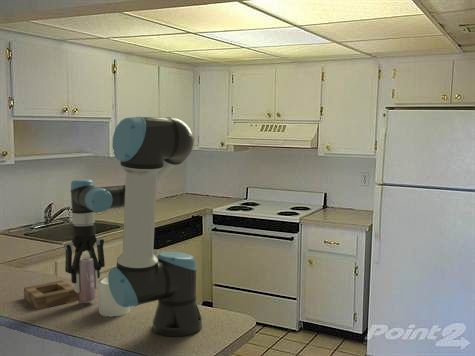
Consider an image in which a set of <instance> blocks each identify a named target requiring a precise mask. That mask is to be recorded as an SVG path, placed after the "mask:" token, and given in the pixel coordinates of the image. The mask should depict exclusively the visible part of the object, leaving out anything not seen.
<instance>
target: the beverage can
mask: <svg viewBox="0 0 475 356" xmlns="http://www.w3.org/2000/svg"><path fill="white" fill-rule="evenodd" d="M94 269H95V268H94V259H93V258H91V257H90V256H81V258H80V262H79V266H78V270H77V273H78V274H79V288H80V293H77V297H78V300H77V301H78V303H80V304H89V303H93V302H94V301H95V300H96V289H95V271H94Z"/></svg>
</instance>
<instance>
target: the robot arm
mask: <svg viewBox="0 0 475 356" xmlns="http://www.w3.org/2000/svg"><path fill="white" fill-rule="evenodd" d="M111 142H112V147H111V148H112V150H113V156H114V157H115V159H116V160H117V161H119V162H120V163H119V165H120V167H121V168H122V169H123V170H124V172H125V180H124V181H125V183H124V184H121V185H110V186H99V187H97V186H95V184H94V181H93V179H91V178H82V179H80V178H79V179H77V178H76V179H73V180H71V183H70V191H69V192H70V198H71V201H70V202H71V221H72V222H71V223H72V227H71V228H72V240H71V241H70V242H68V243H64V245H63V247H64V249H65V262H64V263H65V267H64V268H65V273H67V274H71V276H70V277H71V279H70V280H71V283H72V284H73V287H74V291H75V292H77V293H80V288H79V274H78V273H77V270H78V266H79V262H80V258H81V257H82V255H83V252H84V253H85V252H86V251H87V253H88V255H89V257H91V258H93V259H94V271H95V290H98V281H99V280H98V279H101V276H100V275H101V274H100V273H101V270H102V268H105V265H106V264H105V255H104V254H105V253H104V252H105V251H104V243H105V240H104V239H102V238H97V236H96V224H95V223H96V215H95V213H98V212H100V213H102V212H106V211H108V210H113V209H120V208H121V209H122V208H123V209H124V210H123V234H122V235H123V236H122V253H121V254H120V255H119V256H117V258H116V267H112V268H111V269H109V271H108V274H107V277H108V283H109V288H110V291H111V294H112V296H113V298H114V300H115V301H116V302H117V304H118V305H120V306H121V307H130V308H131V307H138V306H139V305H143V304H147V303H148V304H149V303H151V302H155V301H157V302H158V303H157V306H156V310H155V313H154V316H153V319H152V330H153V332H155V333H156V334H158V335H161V336H163V337H185V336H189V335H193V334H195V333H197V332H199V331H200V330H201V329H202V327H203V318H202V314H201V313H200V309H199V306H198V304H197V264H196V258H195V257H194V256H193V255H192V254H189V253H184V252H178V251H160V252H159V253H157V255H155V254H154V247H155V246H154V245H155V243H154V242H155V226H156V221H155V220H156V201H157V187H158V186H157V185H158V183H160V182H161V180H162V179H163V178H165V176H166V175H168V173H169V172H170V171H172V169H173V168H174V167H175V166H179V165H181V164H183V162H184V161H186V160H187V159H188V158H189V156H190V155H191V153H192V150H193V147H194V136H193V133H192V130H191V128H190V127H189V126H188V124H187V123H186V122H184V121H182V120H181V119H178V118H176V117H170V116H169V117H168V116H167V117H162V116H161V117H153V116H134V117H133V116H132V117H125V118H123V119H122V120H120V122H119V123H118V124H117V125H116V127H115V130H114V133H113V136H112V141H111ZM95 244H96V250H95V249H94V246H95ZM73 247H74V248H75V250H74V256H73V249H74V248H73ZM95 251H97V253H96V252H95ZM96 254H97V255H96Z"/></svg>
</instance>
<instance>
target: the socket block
mask: <svg viewBox="0 0 475 356" xmlns="http://www.w3.org/2000/svg"><path fill="white" fill-rule="evenodd" d="M23 299H24V300H26V302H28V303H29V304H30V305H31V306H33V307H34V308H35V309H36V310H41V309H45V308H46V309H47V308H50V307H55V306H59V305H63V304H67V302H68V303H73V302H77V301H78V296H77V292H75V291H74V286H72V285H71V284H69V283H67V282H66V281H64V280H62V279H61V280H57V281H52V282H47V283H42V284H37V285H31V286H26V287H23Z"/></svg>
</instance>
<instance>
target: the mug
mask: <svg viewBox="0 0 475 356" xmlns="http://www.w3.org/2000/svg"><path fill="white" fill-rule="evenodd" d="M97 290H98V313H99V314H101V315H100V316H102V315H103V317H107V316H109V318H111V317H112V318H114V317H113V316H116V317H122V316H124V315H125V316H126V315H127V314H129V313H130V312H131V307H121V306H120V305H118V304H117V302H116V301H115V300H114V298H113V296H112V294H111V291H110V288H109V283H108V276H105V277H101V278H99V280H98V289H97Z"/></svg>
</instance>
